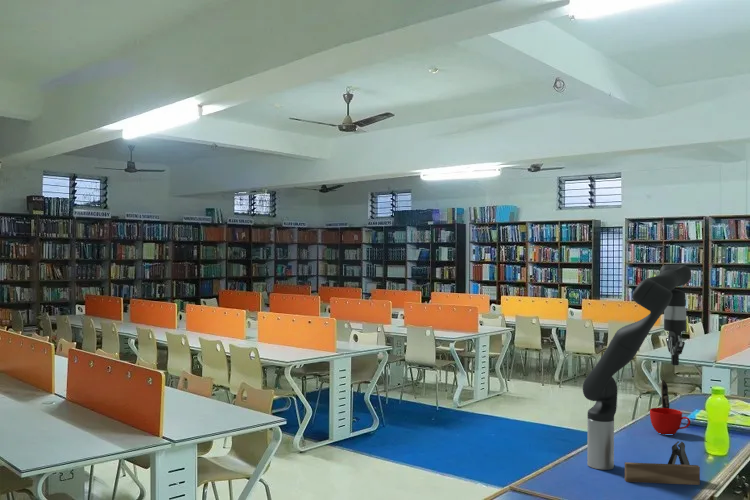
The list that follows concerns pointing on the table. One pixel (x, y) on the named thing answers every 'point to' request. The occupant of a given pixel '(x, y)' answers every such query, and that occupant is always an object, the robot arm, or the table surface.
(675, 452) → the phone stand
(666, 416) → the ceramic cup
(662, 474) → the board
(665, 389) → the statue
